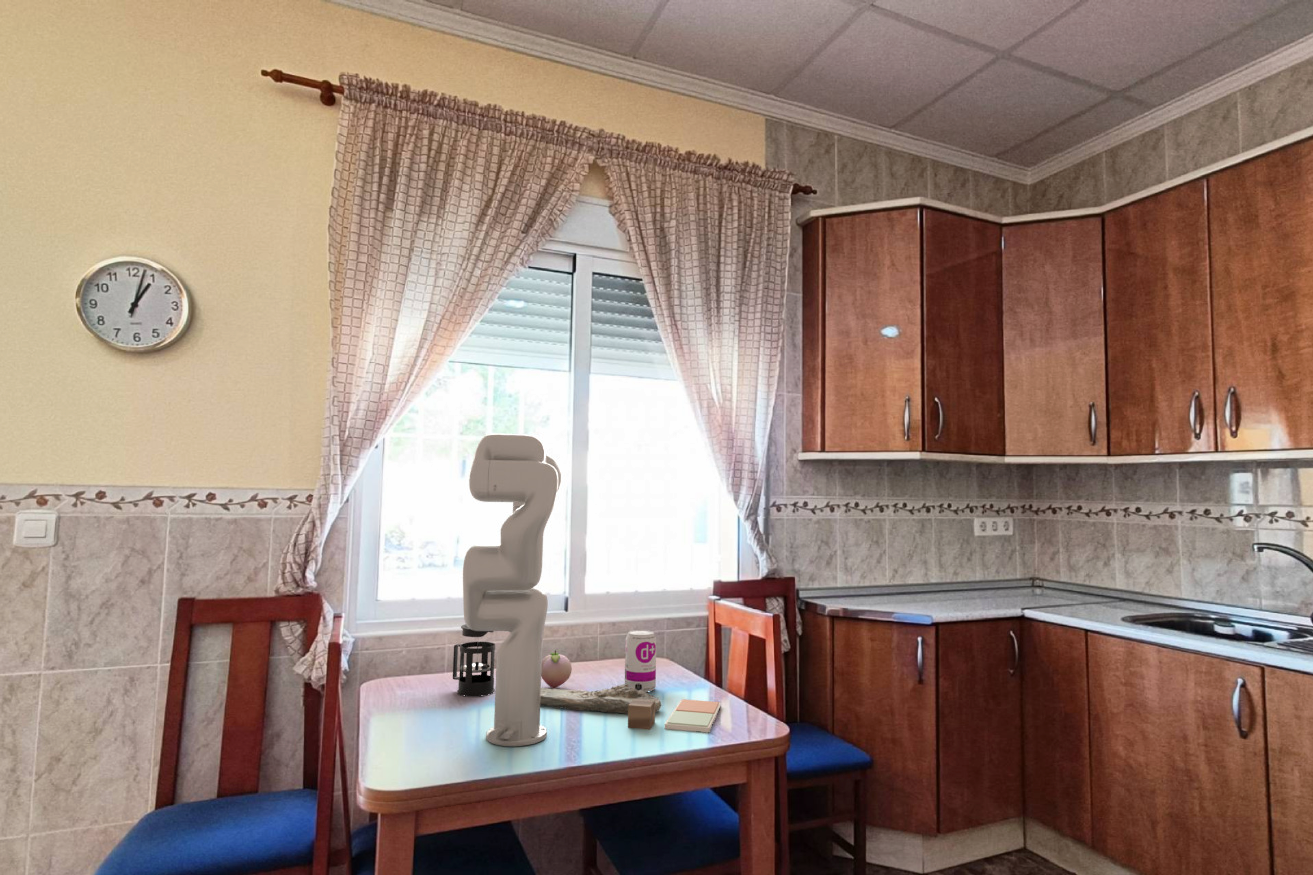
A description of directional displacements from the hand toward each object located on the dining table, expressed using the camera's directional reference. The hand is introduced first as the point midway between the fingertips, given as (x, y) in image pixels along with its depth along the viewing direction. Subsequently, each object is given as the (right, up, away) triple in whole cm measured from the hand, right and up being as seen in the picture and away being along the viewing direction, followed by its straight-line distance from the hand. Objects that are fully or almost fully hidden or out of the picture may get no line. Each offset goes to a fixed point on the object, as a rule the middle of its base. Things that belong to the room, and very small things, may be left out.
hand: (525, 580), depth 183 cm
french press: (-13, -29, +1) cm, 32 cm away
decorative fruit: (+7, -30, +6) cm, 31 cm away
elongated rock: (+18, -29, -10) cm, 36 cm away
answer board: (+43, -29, -17) cm, 54 cm away
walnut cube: (+31, -28, -24) cm, 48 cm away
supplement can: (+30, -31, +6) cm, 43 cm away
